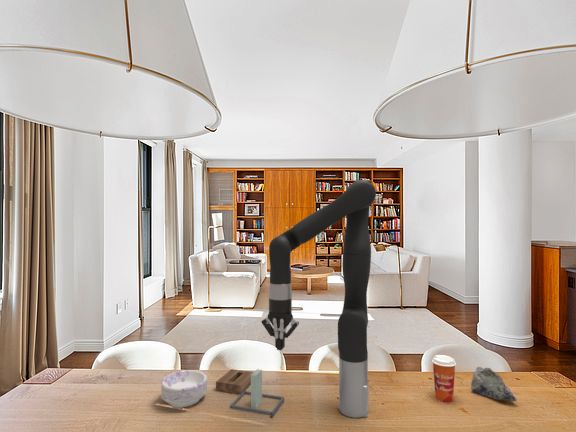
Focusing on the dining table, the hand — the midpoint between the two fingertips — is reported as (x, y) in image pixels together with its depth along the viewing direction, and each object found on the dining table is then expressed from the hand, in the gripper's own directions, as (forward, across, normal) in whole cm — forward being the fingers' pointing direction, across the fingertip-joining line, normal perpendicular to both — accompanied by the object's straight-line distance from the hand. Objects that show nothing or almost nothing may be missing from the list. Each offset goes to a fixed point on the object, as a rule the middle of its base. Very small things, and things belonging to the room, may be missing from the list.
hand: (280, 349), depth 120 cm
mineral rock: (+20, +68, +31) cm, 77 cm away
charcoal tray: (+20, -8, 0) cm, 21 cm away
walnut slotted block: (+20, -21, +10) cm, 30 cm away
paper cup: (+20, +52, +25) cm, 61 cm away
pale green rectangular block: (+19, -8, -1) cm, 21 cm away
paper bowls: (+20, -33, -5) cm, 39 cm away
